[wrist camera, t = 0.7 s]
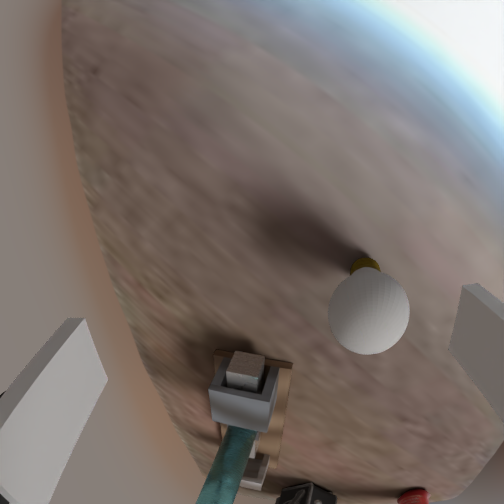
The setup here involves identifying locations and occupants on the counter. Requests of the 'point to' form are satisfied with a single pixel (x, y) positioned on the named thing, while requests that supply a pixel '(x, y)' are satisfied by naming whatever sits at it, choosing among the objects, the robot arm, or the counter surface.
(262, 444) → the bench
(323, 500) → the camera
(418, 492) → the liquor
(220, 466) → the tube
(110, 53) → the counter surface
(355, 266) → the light bulb
